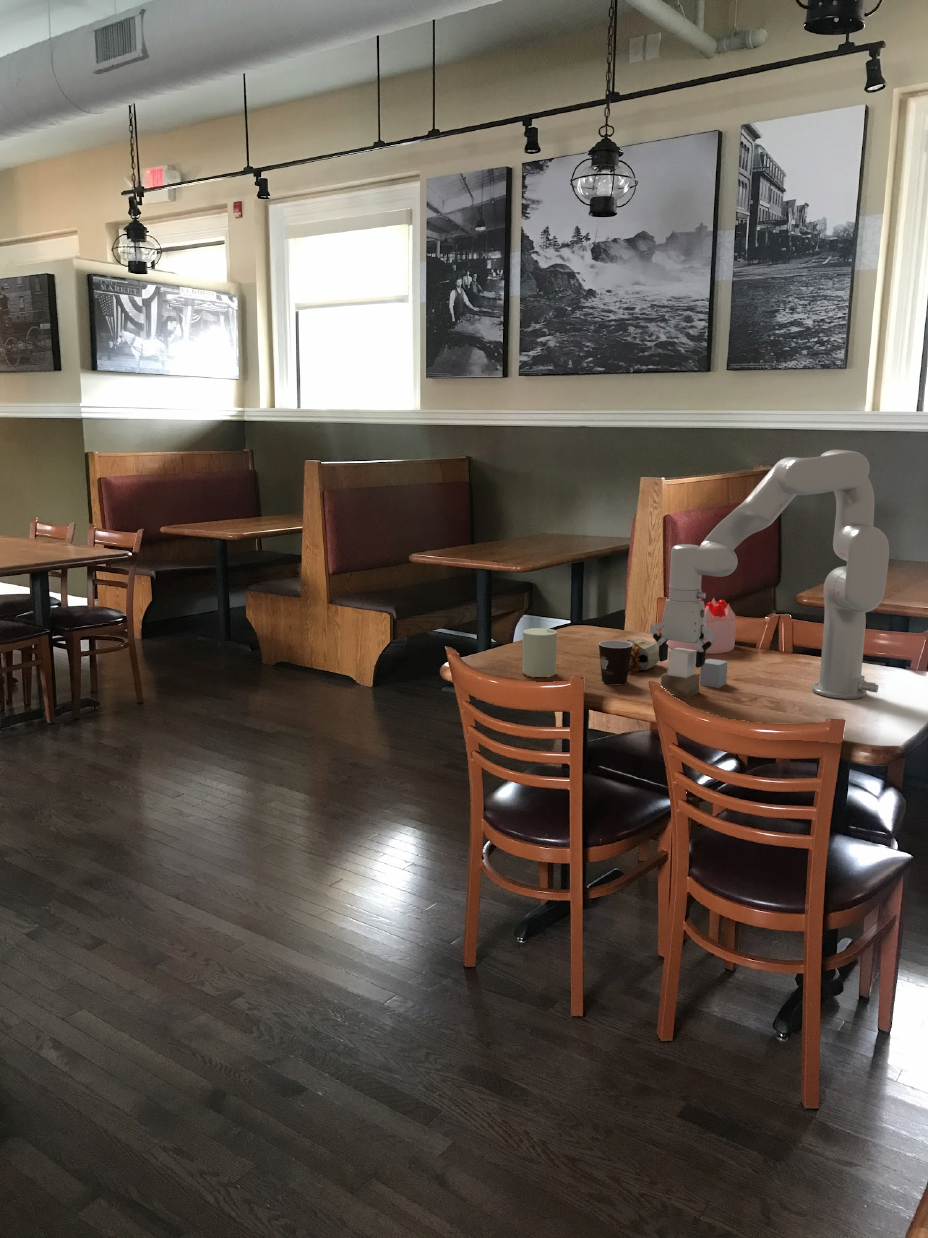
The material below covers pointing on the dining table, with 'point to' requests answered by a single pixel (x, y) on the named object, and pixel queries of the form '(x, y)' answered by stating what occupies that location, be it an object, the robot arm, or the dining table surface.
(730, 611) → the cake
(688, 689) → the metal block
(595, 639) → the dining table surface
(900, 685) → the dining table surface
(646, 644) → the nautilus
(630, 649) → the coffee mug
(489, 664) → the dining table surface
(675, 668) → the ceramic block
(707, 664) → the grey block
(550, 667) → the can
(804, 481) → the robot arm
